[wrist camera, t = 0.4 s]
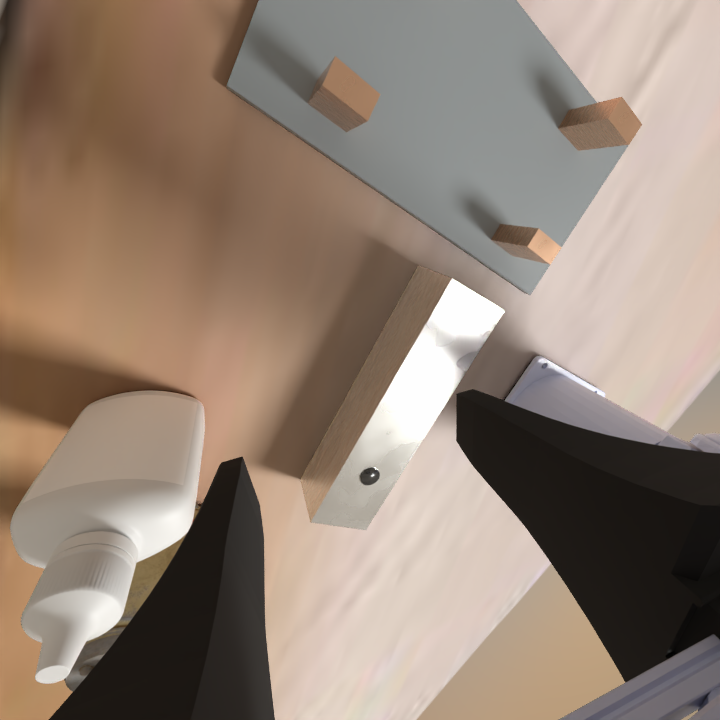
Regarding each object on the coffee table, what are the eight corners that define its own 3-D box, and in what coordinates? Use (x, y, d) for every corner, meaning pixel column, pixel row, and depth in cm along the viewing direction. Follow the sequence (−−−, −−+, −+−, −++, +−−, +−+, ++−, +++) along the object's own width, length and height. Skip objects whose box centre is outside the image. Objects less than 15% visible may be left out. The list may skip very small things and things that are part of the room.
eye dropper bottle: (110, 361, 18) (-65, 602, 7) (218, 404, 20) (203, 625, 10) (72, 429, 18) (-135, 735, 8) (181, 462, 21) (132, 722, 11)
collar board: (621, 144, 21) (684, 137, 18) (524, 293, 24) (567, 307, 21) (338, -207, 12) (372, -336, 9) (226, 88, 15) (225, 61, 12)
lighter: (109, 540, 22) (27, 769, 13) (124, 492, 21) (47, 706, 12) (227, 546, 25) (225, 735, 16) (246, 505, 24) (253, 682, 15)
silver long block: (415, 264, 21) (453, 278, 17) (463, 292, 23) (506, 311, 19) (299, 476, 25) (310, 523, 21) (348, 486, 26) (366, 531, 23)
